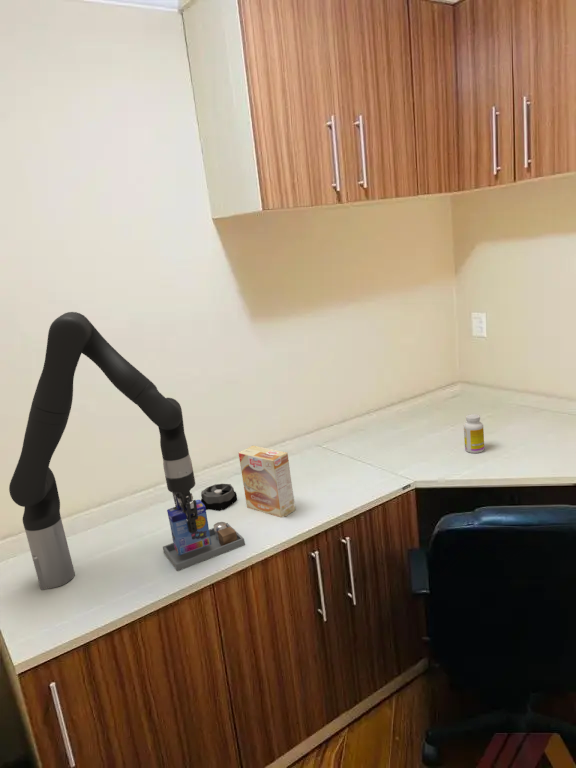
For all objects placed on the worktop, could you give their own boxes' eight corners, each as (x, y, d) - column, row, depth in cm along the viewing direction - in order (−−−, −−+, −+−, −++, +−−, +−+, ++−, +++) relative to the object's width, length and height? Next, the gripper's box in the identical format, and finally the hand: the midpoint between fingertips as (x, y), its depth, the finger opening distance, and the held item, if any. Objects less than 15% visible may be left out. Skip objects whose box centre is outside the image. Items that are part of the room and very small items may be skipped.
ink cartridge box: (179, 557, 159) (169, 508, 156) (173, 548, 164) (163, 501, 161) (213, 544, 163) (204, 497, 160) (206, 536, 168) (198, 490, 165)
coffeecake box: (246, 509, 187) (237, 452, 182) (261, 500, 192) (253, 444, 188) (281, 520, 178) (272, 460, 173) (296, 510, 183) (288, 451, 178)
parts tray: (177, 573, 156) (176, 564, 156) (164, 554, 166) (162, 546, 166) (245, 546, 165) (244, 538, 164) (228, 530, 175) (227, 522, 175)
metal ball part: (218, 541, 168) (216, 529, 167) (213, 537, 171) (211, 524, 170) (230, 537, 170) (227, 525, 169) (225, 532, 173) (223, 520, 172)
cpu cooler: (239, 484, 193) (220, 498, 185) (241, 500, 194) (223, 514, 186) (214, 481, 198) (195, 494, 190) (217, 496, 200) (198, 510, 192)
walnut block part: (225, 549, 164) (222, 536, 163) (219, 543, 167) (217, 531, 166) (238, 544, 166) (235, 531, 164) (232, 538, 169) (230, 526, 168)
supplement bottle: (488, 449, 209) (487, 415, 205) (476, 455, 205) (474, 420, 202) (473, 445, 214) (471, 411, 211) (461, 450, 211) (459, 417, 207)
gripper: (201, 475, 153) (211, 533, 158) (183, 460, 166) (193, 514, 170) (174, 484, 150) (185, 542, 154) (157, 467, 163) (168, 522, 167)
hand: (189, 527), depth 162 cm, fingers closed on ink cartridge box, 5 cm apart
